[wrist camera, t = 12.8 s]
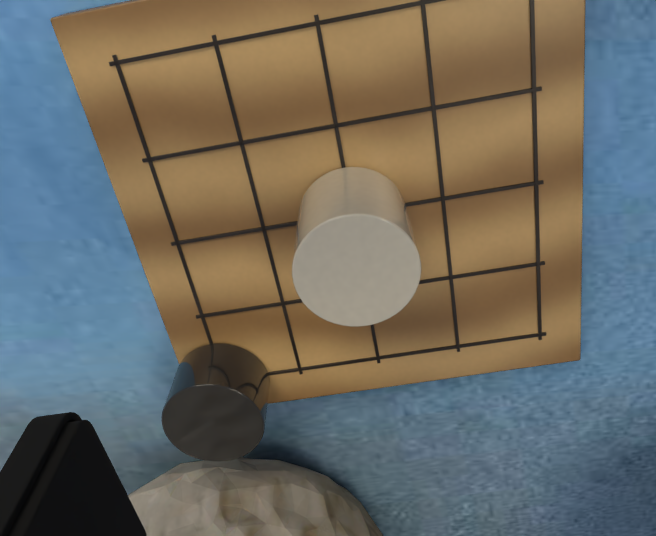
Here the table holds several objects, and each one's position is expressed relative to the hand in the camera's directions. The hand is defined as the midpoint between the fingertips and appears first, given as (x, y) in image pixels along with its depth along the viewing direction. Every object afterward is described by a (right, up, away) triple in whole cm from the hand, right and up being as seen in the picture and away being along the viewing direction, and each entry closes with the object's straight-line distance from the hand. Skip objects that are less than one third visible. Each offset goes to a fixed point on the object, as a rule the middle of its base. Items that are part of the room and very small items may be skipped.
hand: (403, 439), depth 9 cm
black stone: (-7, -3, +22) cm, 23 cm away
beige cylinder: (0, +5, +18) cm, 19 cm away
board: (0, +6, +19) cm, 20 cm away
